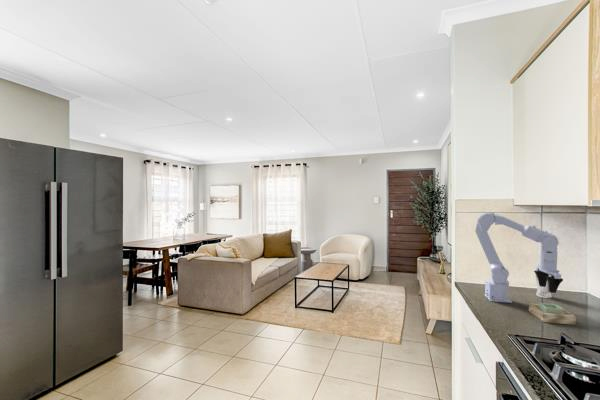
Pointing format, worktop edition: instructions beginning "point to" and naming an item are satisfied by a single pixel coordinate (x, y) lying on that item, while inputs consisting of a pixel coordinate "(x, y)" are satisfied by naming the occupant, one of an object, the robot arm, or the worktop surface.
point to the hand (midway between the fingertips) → (547, 289)
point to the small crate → (550, 308)
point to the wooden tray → (552, 315)
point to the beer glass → (543, 289)
